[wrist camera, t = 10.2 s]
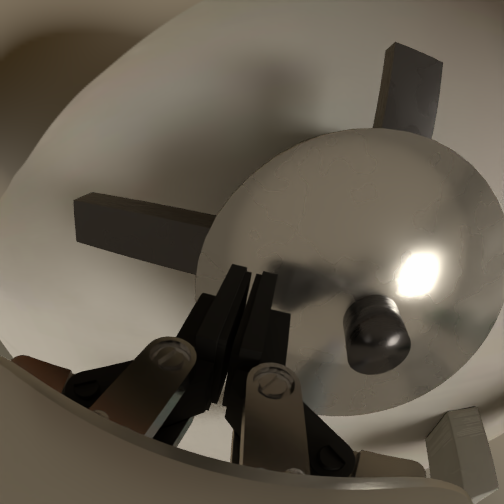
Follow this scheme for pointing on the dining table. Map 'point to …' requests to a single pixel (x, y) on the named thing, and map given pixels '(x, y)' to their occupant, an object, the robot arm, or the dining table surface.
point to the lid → (368, 263)
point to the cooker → (198, 224)
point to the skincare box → (462, 453)
